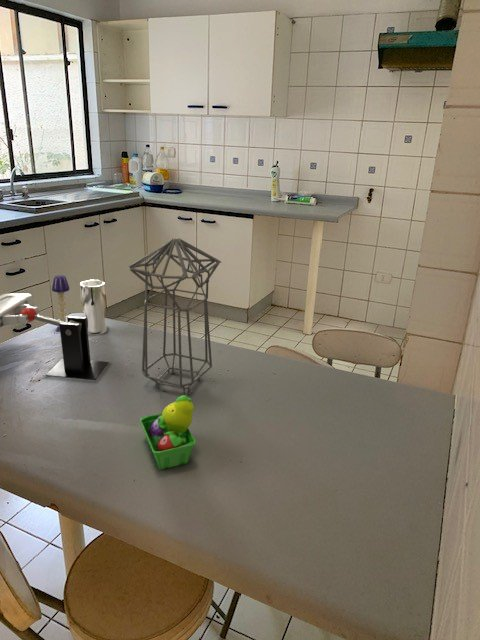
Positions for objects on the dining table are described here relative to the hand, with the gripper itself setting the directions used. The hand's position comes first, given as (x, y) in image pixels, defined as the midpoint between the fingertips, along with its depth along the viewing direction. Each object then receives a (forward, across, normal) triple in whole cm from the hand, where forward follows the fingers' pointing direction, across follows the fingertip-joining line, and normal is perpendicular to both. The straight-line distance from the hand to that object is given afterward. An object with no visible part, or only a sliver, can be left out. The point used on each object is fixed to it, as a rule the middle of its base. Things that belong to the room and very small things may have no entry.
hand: (32, 315), depth 108 cm
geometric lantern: (+35, +2, -15) cm, 38 cm away
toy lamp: (-4, -23, -14) cm, 28 cm away
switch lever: (+4, 0, -3) cm, 5 cm away
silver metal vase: (+5, -24, -14) cm, 28 cm away
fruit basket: (+39, +26, -15) cm, 49 cm away
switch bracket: (+10, 0, -14) cm, 17 cm away
